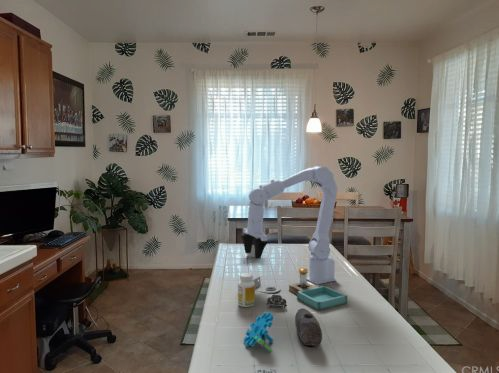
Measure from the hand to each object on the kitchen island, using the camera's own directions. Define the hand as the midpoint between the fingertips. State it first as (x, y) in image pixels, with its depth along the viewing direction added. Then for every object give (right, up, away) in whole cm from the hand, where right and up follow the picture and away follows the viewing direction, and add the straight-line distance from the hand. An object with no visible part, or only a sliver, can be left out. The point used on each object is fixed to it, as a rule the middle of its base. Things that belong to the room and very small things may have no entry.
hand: (252, 255), depth 142 cm
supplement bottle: (-2, -12, -21) cm, 24 cm away
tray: (+23, -12, -18) cm, 31 cm away
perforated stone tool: (+14, -14, -43) cm, 47 cm away
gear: (+1, -14, -47) cm, 49 cm away
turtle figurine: (+11, -13, -24) cm, 30 cm away
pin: (+18, -11, -10) cm, 23 cm away
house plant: (0, -7, +40) cm, 40 cm away
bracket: (+5, -11, -7) cm, 14 cm away
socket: (+18, -11, -10) cm, 23 cm away
